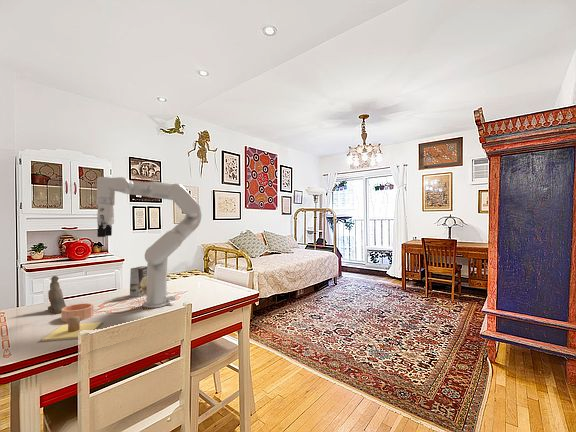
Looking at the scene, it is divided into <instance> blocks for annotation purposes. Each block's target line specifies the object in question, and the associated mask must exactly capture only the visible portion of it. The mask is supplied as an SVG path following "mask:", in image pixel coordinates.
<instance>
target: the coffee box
mask: <svg viewBox="0 0 576 432" xmlns="http://www.w3.org/2000/svg"><path fill="white" fill-rule="evenodd" d="M129 272H130V274H129V275H130V277H129V278H130V279H129V297H135V298H139V297H143V296H145V295H147V266H146V265H145V266H136V267H132V268H130V271H129Z"/></svg>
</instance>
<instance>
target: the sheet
mask: <svg viewBox="0 0 576 432" xmlns="http://www.w3.org/2000/svg"><path fill="white" fill-rule="evenodd" d="M80 321H81V320H80V316H72V317H69V318H68V322H67V324H62V325H60V326H58V327H59V328H58V327H57V328H56V330H55V329H54V330H55V331H54V330H53V331H51V332H52V333H51V332H50V333H48V334H49V335H48V334H47V335H48V336H47V335H46V336H44V337H45V338H44V337H43V338H42V341H51V340H62V339H74V338H78V333H79V332H80V331H82V330H95V329H96V328H97V327H98V326H99V325H100V324H101V323H102V322H101V321H100V322H99V321H97V322H85V323H80Z"/></svg>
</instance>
